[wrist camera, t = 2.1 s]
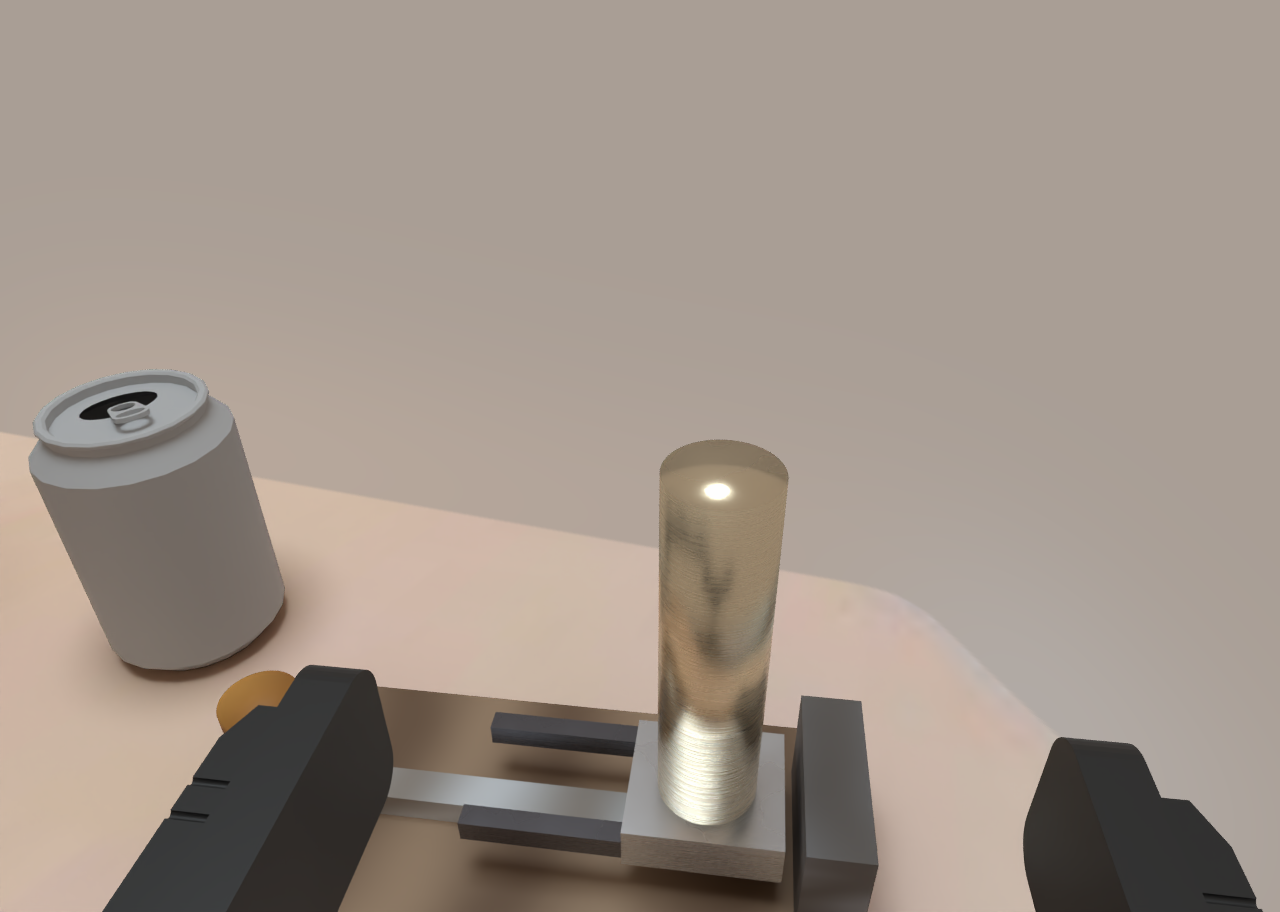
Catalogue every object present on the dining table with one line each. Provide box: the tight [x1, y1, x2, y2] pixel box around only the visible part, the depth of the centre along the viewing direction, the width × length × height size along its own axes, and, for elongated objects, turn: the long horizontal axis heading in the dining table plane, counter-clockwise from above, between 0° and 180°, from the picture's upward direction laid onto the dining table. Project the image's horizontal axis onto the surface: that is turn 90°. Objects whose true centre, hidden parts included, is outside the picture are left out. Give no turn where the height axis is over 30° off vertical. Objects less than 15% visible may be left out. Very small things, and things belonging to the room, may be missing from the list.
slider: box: [457, 440, 788, 883], centre depth 26 cm, size 10×4×14 cm, turn 83°
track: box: [216, 671, 878, 912], centre depth 30 cm, size 23×10×6 cm, turn 82°
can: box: [28, 369, 285, 670], centre depth 38 cm, size 8×8×12 cm
